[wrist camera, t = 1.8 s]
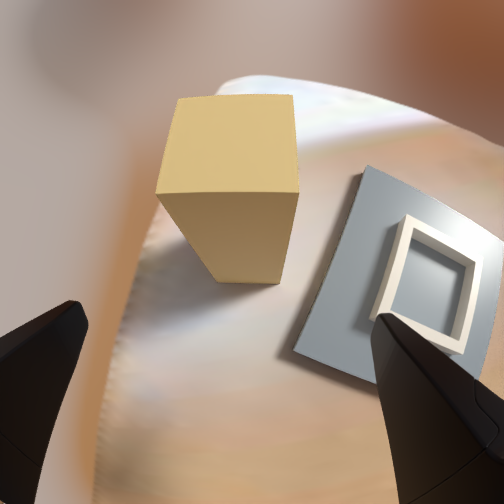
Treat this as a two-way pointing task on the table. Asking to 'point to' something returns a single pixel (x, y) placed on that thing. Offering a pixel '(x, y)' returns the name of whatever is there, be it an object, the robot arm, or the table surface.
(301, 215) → the table surface
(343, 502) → the table surface
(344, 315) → the baseplate
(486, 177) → the table surface
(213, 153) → the pillar
